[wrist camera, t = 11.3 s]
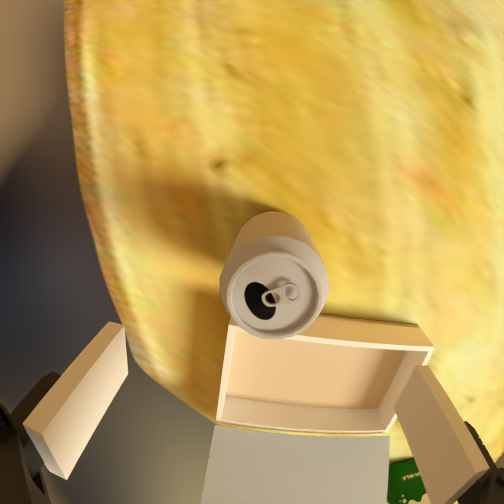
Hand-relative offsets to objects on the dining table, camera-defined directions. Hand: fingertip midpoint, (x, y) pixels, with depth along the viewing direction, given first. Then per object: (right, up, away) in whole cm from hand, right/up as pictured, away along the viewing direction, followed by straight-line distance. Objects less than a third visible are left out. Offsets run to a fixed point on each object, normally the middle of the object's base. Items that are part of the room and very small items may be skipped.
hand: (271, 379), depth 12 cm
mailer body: (+7, -8, +22) cm, 25 cm away
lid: (+5, -20, +12) cm, 24 cm away
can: (+1, +6, +18) cm, 19 cm away
